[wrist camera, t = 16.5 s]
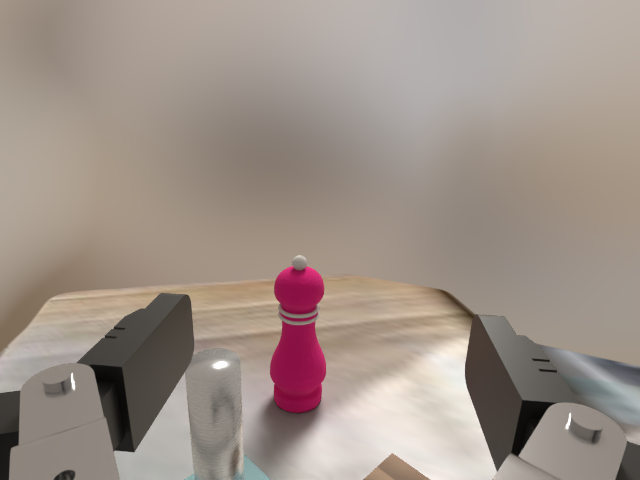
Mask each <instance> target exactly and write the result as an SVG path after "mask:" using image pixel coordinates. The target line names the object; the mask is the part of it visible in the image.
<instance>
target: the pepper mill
mask: <svg viewBox="0 0 640 480" xmlns="http://www.w3.org/2000/svg"><path fill="white" fill-rule="evenodd" d="M292 265H293V266H292V267H289V268H287V269H285V270H283V271H282V272H281V273H280V274H279V275H278V277H277V279H276V281H275V286H274V293H275V296H276V299H277V300H278V301H279V302H280V304H279V307H278V309H279V314H278V315H279V318H280V319H281V320H282V335H281V339H280V341H279V344H278V346H277V348H276V350H275V352H274V354H273V357H272V360H271V365H270V375H271V378H272V380H273V382H274V383H275V385H274V400H275V402H276V404H277V405H278V406H279V407H280V408H281V409H283V410H285V411H288V412H292V413H302V412H307V411H310V410H312V409H314V408H315V407H316V406H317V405H318V404H319V403H320V401H321V395H322V385H321V383H322V381H323V380H324V378H325V375H326V362H325V358H324V354H323V352H322V350H321V348H320V345H319V343H318V340H317V337H316V333H315V321H316V320H317V319H318V317H319V304H318V303H319V302H320V300H321V299H322V297H323V295H324V283H323V280H322V277H321V276H320V274H319V273H318V272H317V271H315V270H314V269H312V268H310V267H306V266H307V260H306V258H305V257H303V256H300V255H299V256H296V257H295V258H294V259H293V261H292Z"/></svg>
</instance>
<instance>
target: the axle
mask: <svg viewBox="0 0 640 480" xmlns="http://www.w3.org/2000/svg"><path fill="white" fill-rule="evenodd" d="M185 377H186V388H187V400H188V411H189V422H190V434H191V445H192V456H193V468H194V479H195V480H244V452H243V425H242V398H241V371H240V358H239V356H238V355H237V354H236V353H234V352H233V351H230V350H227V349H220V348H214V349H207V350H204V351H201V352H198V353H196V354H194V355H193V356H192V359H191V362H190V364H189V366H188V368H187V369H186V371H185Z"/></svg>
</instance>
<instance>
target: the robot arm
mask: <svg viewBox="0 0 640 480" xmlns="http://www.w3.org/2000/svg"><path fill="white" fill-rule="evenodd" d="M193 351H194V335H193V322H192V309H191V300H190V297H189V296H188V295H185V294H169V293H161V294H159V295H158V296H157V297H156V298H155V299H154V300H153V301H152V302H151V303H150V304H149V305H148V306H147V307H146V308H145V309H139V310H137V311H135V312H133V313H131V314H129V315H127V316H125V317H124V318H123V319H122V320H121V321H120V322H119V323H118V324H117V325H116V326H115V327H114V329H111V330H110V331H109V332H108V333H107V334H106V335H105V338H102V339H101V340H100V341H99V342H98V343H97V344H96V345H95V346H94V347H93V348H92V349H90V350H89V351H88V352H87V353H86V354H85V355H84V356H83V357H82V358H81V359H80V360H79V361H78V362H77V363H69V364H62V365H58V366H54V367H51V368H48V369H46V370H43V371H41V372H39V373H37V374H36V375H34V376H33V377H31V378H30V379H29V380H28V381H27V382H25V384H24V385H23V386H22V388H21V391H14V392H6V393H0V480H120V478H119V474H118V469H117V465H116V460H115V456H114V451H115V450H116V451H127V452H135V450H136V449H137V447H138V445H139V444H140V442H141V441H142V439H143V438H144V436H145V434H146V433H147V431H148V430H149V428H150V426H151V425H152V423H153V422H154V420H155V418H156V417H157V415H158V414H159V412H160V410H161V409H162V407H163V406H164V404H165V403H166V401H167V399H168V398H169V396H170V395H171V393H172V391H173V390H174V388H175V387H176V385H177V383H178V382H179V380H180V379H181V377H182V375H183V374H184V372H185V371H186V369H187V368H188V366H189V364H190V362H191V359H192V356H193ZM465 379H466V385H467V388H468V391H469V394H470V397H471V400H472V402H473V405H474V408H475V411H476V414H477V416H478V419H479V422H480V425H481V428H482V431H483V433H484V436H485V439H486V442H487V445H488V447H489V450H490V453H491V456H492V459H493V461H494V464H495V467H496V470H497V473H496V475H495V476H494V478H493V479H492V480H640V446H639V445H636V444H633V443H630V442H628V441H627V439H626V436H625V434H624V432H623V431H622V429H621V428H620V427H619V426H618V425H617V424H616V423H615V422H614V421H613V420H612V419H610V418H609V417H607V416H606V415H604V414H602V413H601V412H599V411H597V410H594V409H592V408H589V407H587V406H584V405H581V404H580V403H579V401H578V400H577V398H576V397H575V395H574V394H573V393H572V391H571V390H570V388H569V387H568V385H567V384H566V383H565V381H564V380H563V378H562V377H561V375H560V374H559V373H557V370H556V368H555V367H554V365H553V364H552V363H551V362H550V361H549V358H548V357H547V355H546V354H545V353H544V351H543V350H542V348H541V347H540V346H539V345H537V344H536V343H534V342H533V341H532V340H530V339H529V338H528V337H526V336H522V335H516V333H515V331H514V330H513V328H512V327H511V325H510V324H509V322H508V320H507V319H506V318H505V317H504V316H493V315H478V314H476V315H475V316H474V318H473V321H472V326H471V332H470V338H469V345H468V351H467V357H466V364H465Z"/></svg>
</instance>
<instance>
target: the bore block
mask: <svg viewBox="0 0 640 480" xmlns="http://www.w3.org/2000/svg"><path fill="white" fill-rule="evenodd" d="M363 480H430V479H428V478H427V477H426V476H424V475H423V474H421V473H420V472H418V471H417V470H416V469H414V468H413V467H411V466H410V465H409V464H407V463H406V462H404V461H403V460H401V459H400V458H399V457H397V456H396V455H394V454H393V453H392V454H391V455H390V456H389V457H388V458H386V459H385V460H384V461H383V462H382V463H381V464H380V465H379V466H378V467H377V468H375V469H374V470H373V471H372V472H371V473H370V474H369V475H368V476H367V477H366V478H364V479H363Z"/></svg>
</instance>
